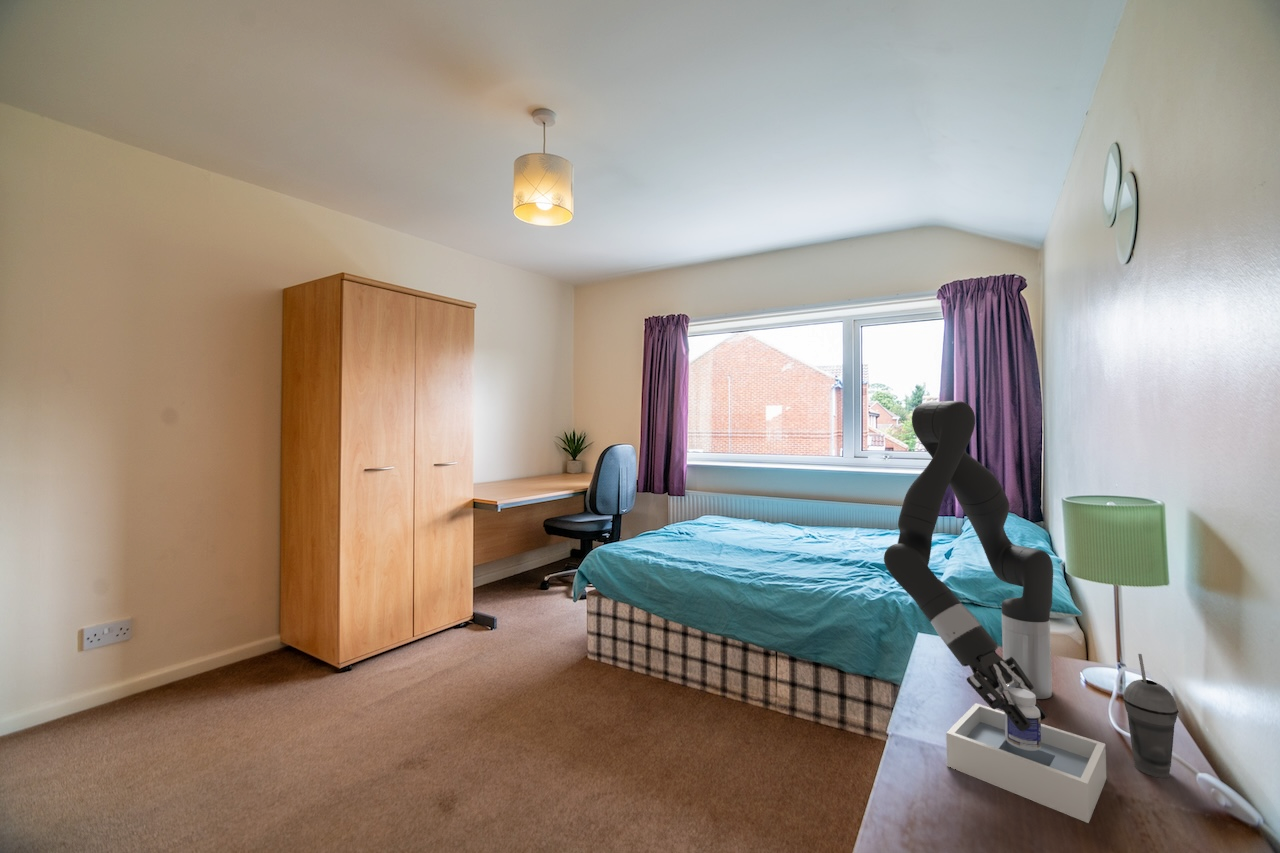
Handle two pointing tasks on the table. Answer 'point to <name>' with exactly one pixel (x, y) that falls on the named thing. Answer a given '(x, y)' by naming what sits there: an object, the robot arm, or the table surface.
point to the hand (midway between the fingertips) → (1034, 723)
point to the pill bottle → (1032, 735)
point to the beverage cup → (1150, 724)
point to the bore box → (1030, 762)
